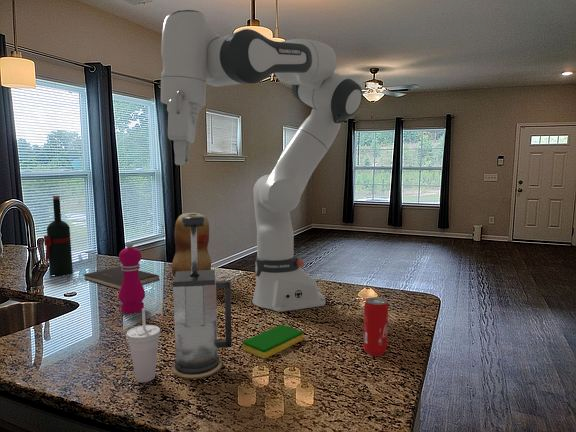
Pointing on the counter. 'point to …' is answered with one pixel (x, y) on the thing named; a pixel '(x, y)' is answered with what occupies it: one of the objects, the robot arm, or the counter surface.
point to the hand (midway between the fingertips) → (182, 164)
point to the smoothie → (144, 349)
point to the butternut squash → (184, 246)
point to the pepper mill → (131, 281)
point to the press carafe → (198, 324)
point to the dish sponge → (272, 341)
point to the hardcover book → (117, 277)
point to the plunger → (193, 238)
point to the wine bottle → (58, 244)
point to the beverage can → (375, 326)
